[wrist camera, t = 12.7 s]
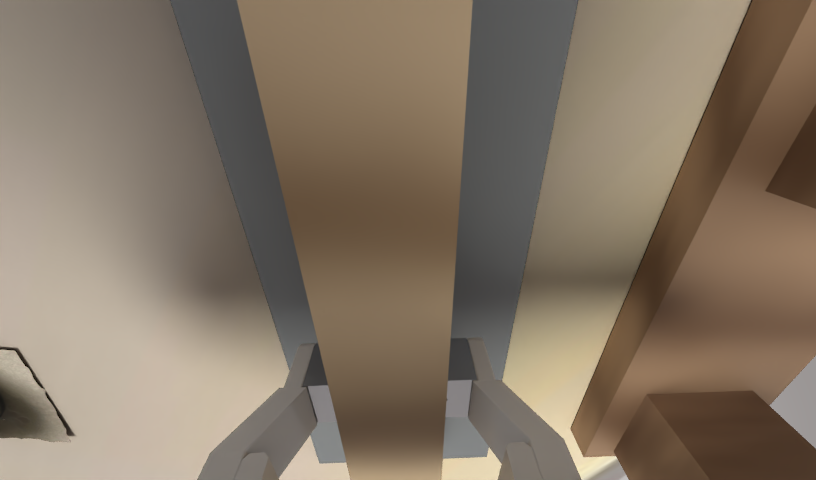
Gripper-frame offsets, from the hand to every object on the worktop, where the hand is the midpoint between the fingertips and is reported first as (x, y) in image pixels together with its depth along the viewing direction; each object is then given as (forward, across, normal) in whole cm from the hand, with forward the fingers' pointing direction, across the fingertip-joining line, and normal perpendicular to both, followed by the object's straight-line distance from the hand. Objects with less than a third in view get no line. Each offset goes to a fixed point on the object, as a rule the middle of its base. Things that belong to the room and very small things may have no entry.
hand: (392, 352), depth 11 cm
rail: (-1, 0, 0) cm, 1 cm away
